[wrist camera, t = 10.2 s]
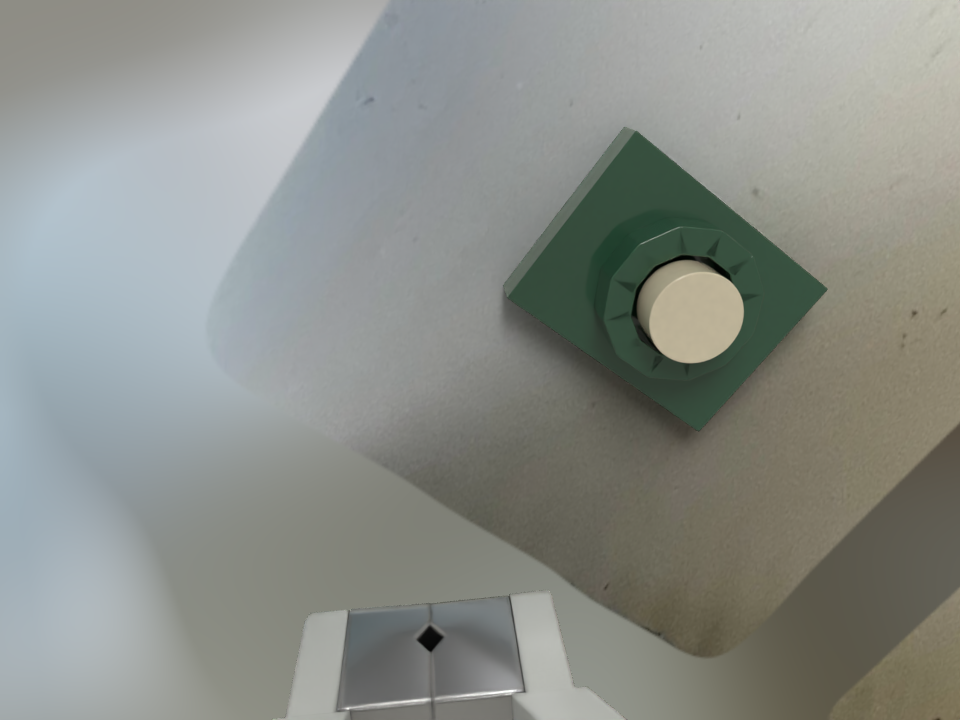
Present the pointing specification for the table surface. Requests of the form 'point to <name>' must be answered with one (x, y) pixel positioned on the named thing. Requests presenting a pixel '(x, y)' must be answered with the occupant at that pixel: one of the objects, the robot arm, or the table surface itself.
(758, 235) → the green peg board
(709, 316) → the cream short cylinder
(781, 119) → the table surface
